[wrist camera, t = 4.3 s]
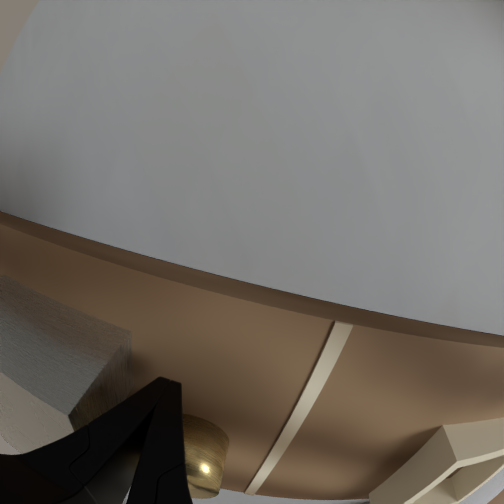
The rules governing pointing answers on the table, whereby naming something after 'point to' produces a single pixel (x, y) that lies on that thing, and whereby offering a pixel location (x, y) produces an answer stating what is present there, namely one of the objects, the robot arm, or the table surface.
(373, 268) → the table surface
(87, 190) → the table surface
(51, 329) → the cover
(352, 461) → the board
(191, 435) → the gold knob
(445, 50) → the table surface
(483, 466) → the socket
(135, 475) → the robot arm
